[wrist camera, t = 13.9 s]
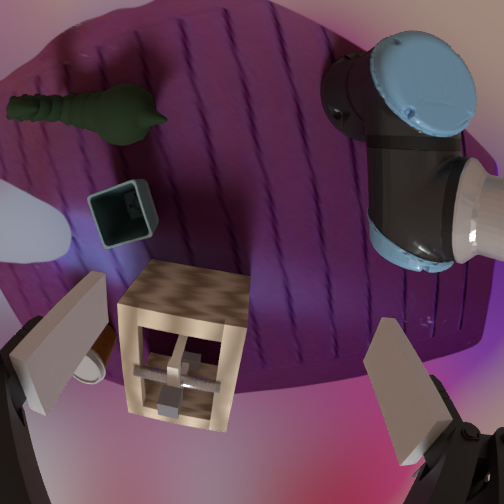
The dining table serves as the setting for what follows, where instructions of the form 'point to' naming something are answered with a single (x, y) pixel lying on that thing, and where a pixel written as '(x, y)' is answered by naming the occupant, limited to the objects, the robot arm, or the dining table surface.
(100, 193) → the flower pot
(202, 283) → the beige wooden frame
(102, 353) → the disposable coffee cup
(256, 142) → the dining table surface
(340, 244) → the dining table surface
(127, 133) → the dark green tiered figure
